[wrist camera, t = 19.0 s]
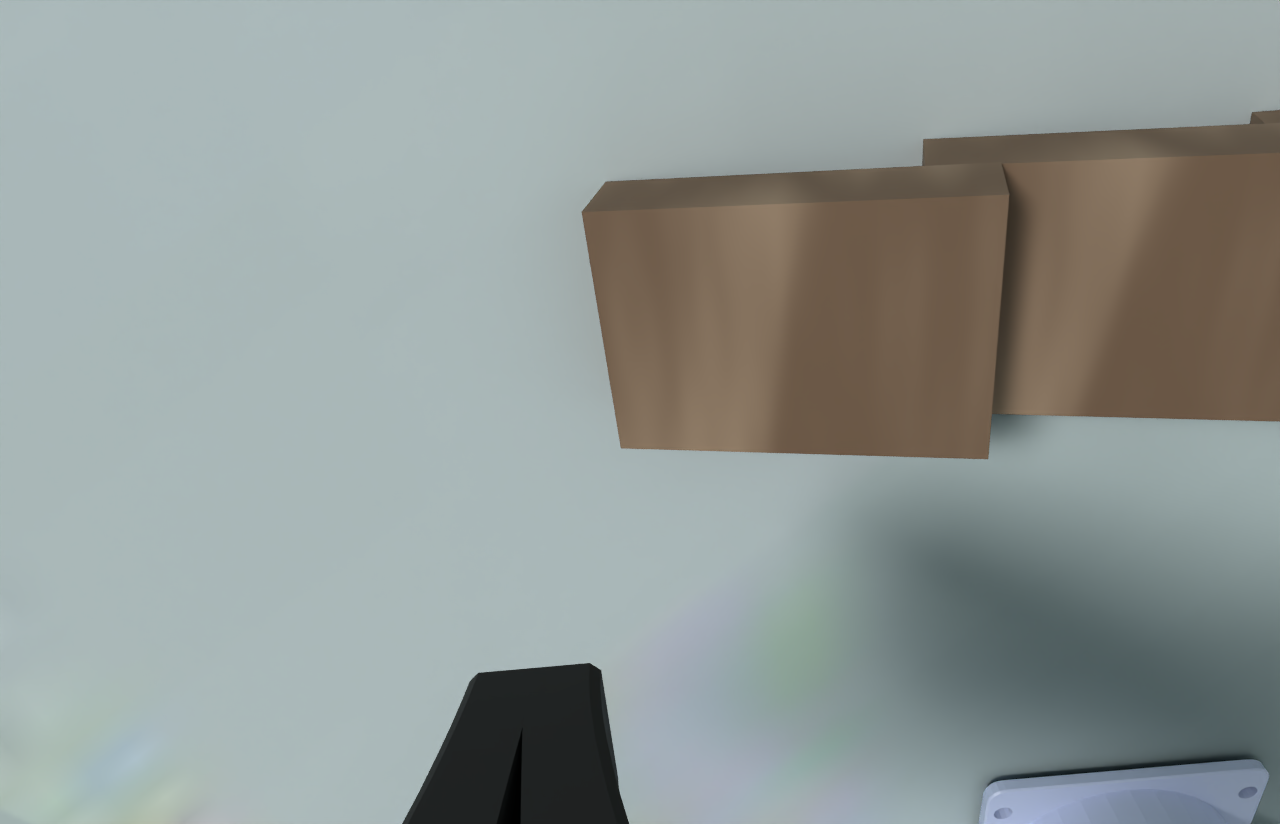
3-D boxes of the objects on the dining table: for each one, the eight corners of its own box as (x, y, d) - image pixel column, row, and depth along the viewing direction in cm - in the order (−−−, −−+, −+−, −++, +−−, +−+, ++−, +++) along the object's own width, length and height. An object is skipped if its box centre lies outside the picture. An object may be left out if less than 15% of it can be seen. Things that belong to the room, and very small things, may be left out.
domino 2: (923, 139, 17) (1360, 119, 16) (913, 371, 20) (1287, 378, 18) (924, 166, 16) (1401, 148, 14) (914, 411, 19) (1316, 422, 17)
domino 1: (606, 181, 18) (1001, 162, 16) (639, 406, 20) (982, 412, 18) (581, 211, 16) (1009, 194, 15) (620, 448, 19) (988, 459, 17)
